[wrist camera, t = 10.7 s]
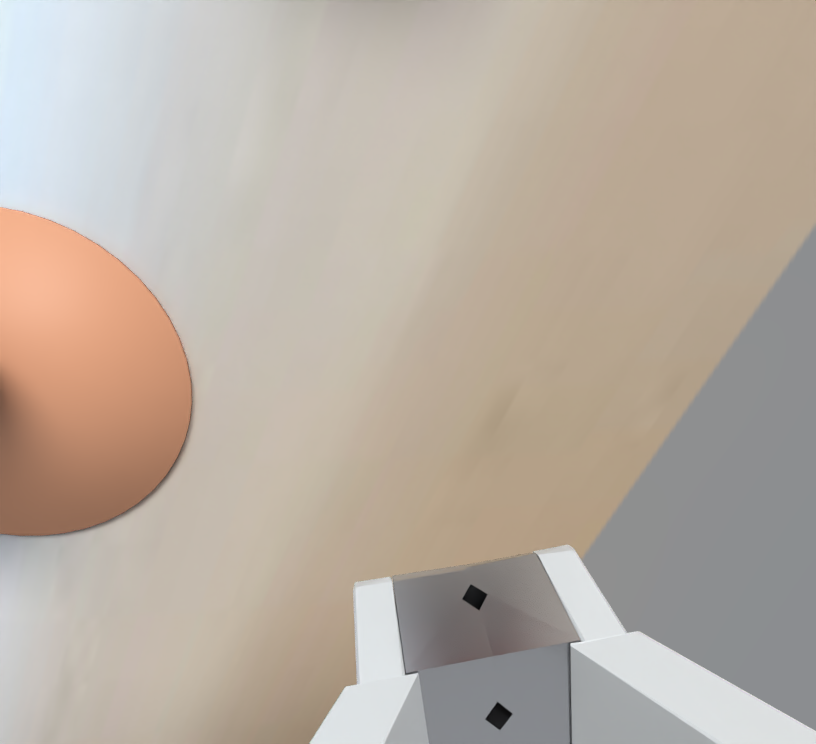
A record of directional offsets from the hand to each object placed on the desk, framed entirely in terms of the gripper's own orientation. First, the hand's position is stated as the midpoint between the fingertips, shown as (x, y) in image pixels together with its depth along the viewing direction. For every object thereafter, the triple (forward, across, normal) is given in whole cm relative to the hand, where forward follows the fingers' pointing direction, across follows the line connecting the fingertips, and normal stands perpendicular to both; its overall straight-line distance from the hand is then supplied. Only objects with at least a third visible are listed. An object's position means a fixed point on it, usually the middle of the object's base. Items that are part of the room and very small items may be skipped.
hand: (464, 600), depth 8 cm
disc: (+14, +13, 0) cm, 19 cm away
